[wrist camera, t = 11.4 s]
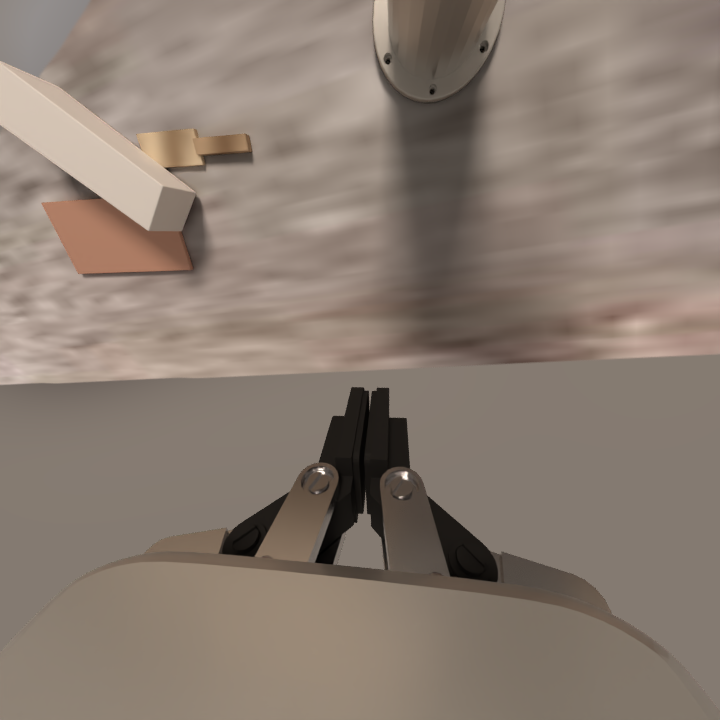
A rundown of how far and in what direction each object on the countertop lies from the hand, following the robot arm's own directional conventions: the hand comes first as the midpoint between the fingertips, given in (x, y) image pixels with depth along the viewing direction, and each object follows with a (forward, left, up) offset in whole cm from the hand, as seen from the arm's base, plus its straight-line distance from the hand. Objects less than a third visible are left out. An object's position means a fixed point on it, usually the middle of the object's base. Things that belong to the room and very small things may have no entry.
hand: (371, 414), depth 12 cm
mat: (-7, -40, -31) cm, 51 cm away
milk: (-10, -27, -27) cm, 40 cm away
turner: (-17, -24, -31) cm, 43 cm away
